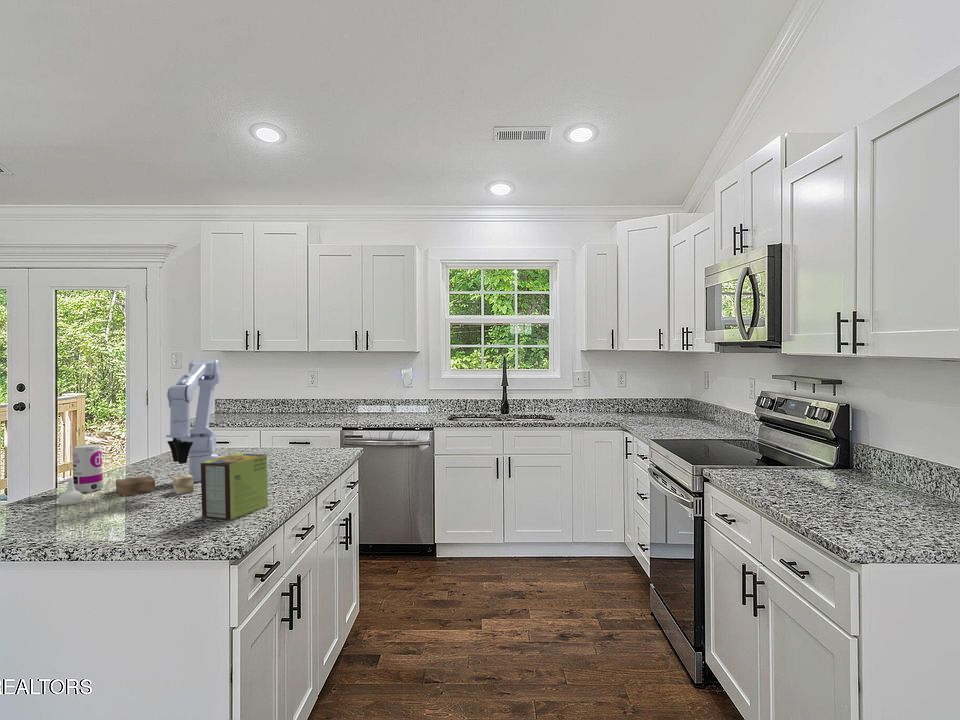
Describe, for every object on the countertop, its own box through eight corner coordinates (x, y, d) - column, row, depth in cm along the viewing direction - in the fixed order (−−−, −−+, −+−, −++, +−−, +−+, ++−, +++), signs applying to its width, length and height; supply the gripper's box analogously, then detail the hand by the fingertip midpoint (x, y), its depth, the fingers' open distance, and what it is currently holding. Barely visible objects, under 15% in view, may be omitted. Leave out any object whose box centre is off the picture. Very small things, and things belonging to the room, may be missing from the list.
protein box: (268, 505, 171) (267, 454, 171) (230, 520, 157) (229, 463, 156) (240, 503, 174) (239, 452, 174) (200, 517, 160) (199, 461, 160)
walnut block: (150, 487, 198) (149, 475, 198) (155, 492, 190) (155, 480, 190) (116, 491, 192) (115, 479, 192) (120, 497, 184) (119, 485, 184)
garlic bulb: (69, 508, 173) (70, 482, 173) (52, 505, 174) (53, 479, 174) (87, 502, 179) (89, 477, 179) (70, 500, 180) (72, 474, 180)
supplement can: (108, 487, 197) (107, 444, 196) (90, 493, 188) (88, 448, 188) (86, 487, 197) (85, 443, 197) (67, 493, 189) (66, 448, 189)
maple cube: (190, 489, 193) (189, 474, 193) (193, 492, 189) (193, 477, 189) (173, 491, 190) (173, 476, 190) (176, 494, 186) (176, 479, 186)
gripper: (162, 421, 193) (161, 461, 192) (171, 422, 182) (170, 465, 181) (185, 420, 197) (185, 459, 197) (195, 421, 186) (195, 463, 185)
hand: (179, 462), depth 189 cm, fingers open, 7 cm apart
